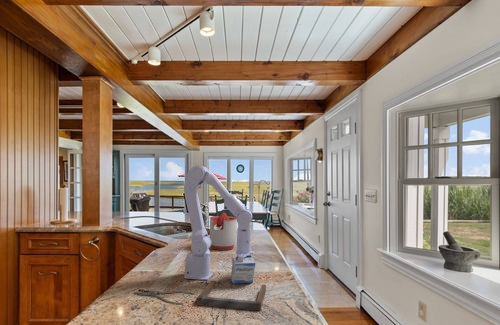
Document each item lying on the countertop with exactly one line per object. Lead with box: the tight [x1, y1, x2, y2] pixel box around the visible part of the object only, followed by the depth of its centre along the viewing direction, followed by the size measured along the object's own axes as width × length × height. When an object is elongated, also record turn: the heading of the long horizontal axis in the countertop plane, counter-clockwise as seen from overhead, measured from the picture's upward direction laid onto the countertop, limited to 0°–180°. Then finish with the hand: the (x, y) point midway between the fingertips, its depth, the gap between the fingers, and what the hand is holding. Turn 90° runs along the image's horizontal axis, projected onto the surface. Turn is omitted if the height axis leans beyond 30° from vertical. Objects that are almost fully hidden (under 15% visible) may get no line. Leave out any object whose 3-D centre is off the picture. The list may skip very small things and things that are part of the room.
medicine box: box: [230, 256, 256, 285], centre depth 111 cm, size 8×4×9 cm, turn 105°
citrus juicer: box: [209, 212, 238, 251], centre depth 165 cm, size 16×17×20 cm
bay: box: [196, 280, 267, 311], centre depth 98 cm, size 20×16×2 cm
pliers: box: [133, 288, 195, 306], centre depth 96 cm, size 10×1×20 cm
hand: (243, 275), depth 116 cm, fingers closed
